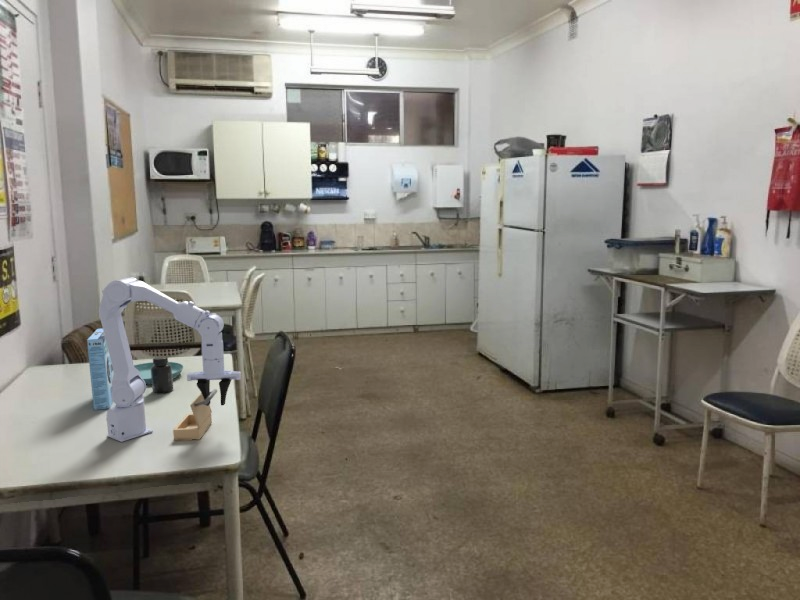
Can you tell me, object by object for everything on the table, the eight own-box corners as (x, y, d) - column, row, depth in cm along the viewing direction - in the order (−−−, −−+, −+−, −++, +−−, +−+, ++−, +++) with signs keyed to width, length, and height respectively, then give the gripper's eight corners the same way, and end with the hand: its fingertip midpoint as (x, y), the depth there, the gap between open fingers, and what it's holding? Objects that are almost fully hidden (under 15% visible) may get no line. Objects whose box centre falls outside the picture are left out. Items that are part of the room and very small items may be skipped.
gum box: (109, 408, 193) (103, 338, 190) (92, 410, 192) (85, 339, 188) (118, 391, 211) (113, 327, 208) (102, 393, 210) (96, 328, 207)
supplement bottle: (166, 387, 216) (164, 354, 214) (177, 390, 212) (174, 357, 210) (148, 391, 211) (146, 358, 209) (158, 395, 207) (156, 361, 205)
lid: (190, 405, 164) (205, 400, 165) (202, 391, 177) (217, 386, 177) (198, 428, 166) (213, 423, 166) (210, 412, 178) (224, 408, 178)
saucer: (134, 369, 241) (133, 361, 241) (193, 369, 240) (193, 361, 240) (101, 387, 217) (101, 378, 217) (167, 387, 216) (167, 378, 216)
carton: (173, 440, 166) (173, 429, 165) (187, 424, 178) (187, 414, 178) (199, 439, 166) (199, 429, 166) (211, 423, 179) (211, 413, 178)
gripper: (242, 353, 174) (244, 399, 176) (190, 354, 173) (193, 400, 175) (237, 359, 167) (239, 407, 169) (183, 361, 166) (186, 408, 168)
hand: (215, 404), depth 171 cm, fingers open, 3 cm apart
